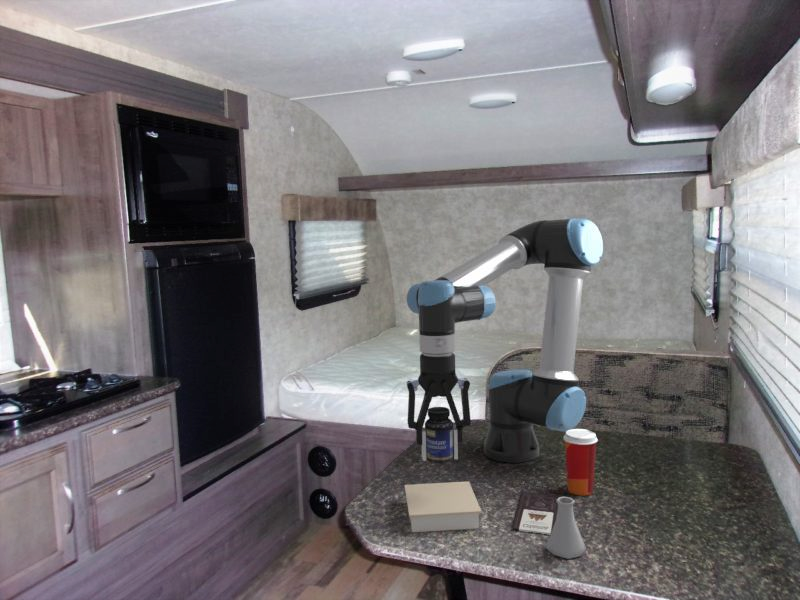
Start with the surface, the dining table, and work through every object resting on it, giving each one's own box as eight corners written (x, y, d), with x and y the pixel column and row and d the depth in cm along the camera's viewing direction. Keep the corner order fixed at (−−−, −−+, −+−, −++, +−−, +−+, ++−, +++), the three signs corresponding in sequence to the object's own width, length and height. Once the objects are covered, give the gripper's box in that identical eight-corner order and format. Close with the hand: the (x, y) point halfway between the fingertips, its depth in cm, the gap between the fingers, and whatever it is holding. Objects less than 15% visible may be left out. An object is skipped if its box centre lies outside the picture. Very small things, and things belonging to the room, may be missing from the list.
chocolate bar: (561, 495, 137) (557, 533, 120) (561, 499, 137) (557, 538, 120) (522, 491, 139) (512, 528, 122) (522, 495, 140) (512, 532, 123)
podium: (469, 497, 138) (468, 481, 138) (481, 529, 123) (481, 511, 123) (405, 501, 137) (404, 484, 137) (409, 533, 122) (409, 515, 122)
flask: (562, 536, 120) (562, 488, 119) (593, 550, 114) (593, 500, 113) (538, 548, 115) (538, 499, 114) (569, 564, 110) (569, 512, 109)
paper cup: (584, 481, 145) (584, 426, 143) (604, 494, 138) (604, 436, 136) (556, 487, 143) (556, 430, 141) (575, 500, 135) (575, 440, 134)
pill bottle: (422, 463, 127) (421, 413, 126) (428, 453, 133) (427, 405, 131) (451, 465, 125) (450, 414, 124) (456, 454, 131) (454, 406, 130)
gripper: (393, 358, 122) (396, 466, 125) (485, 354, 123) (486, 462, 126) (391, 351, 130) (394, 453, 132) (478, 348, 131) (479, 449, 133)
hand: (439, 457), depth 129 cm, fingers closed on pill bottle, 6 cm apart
